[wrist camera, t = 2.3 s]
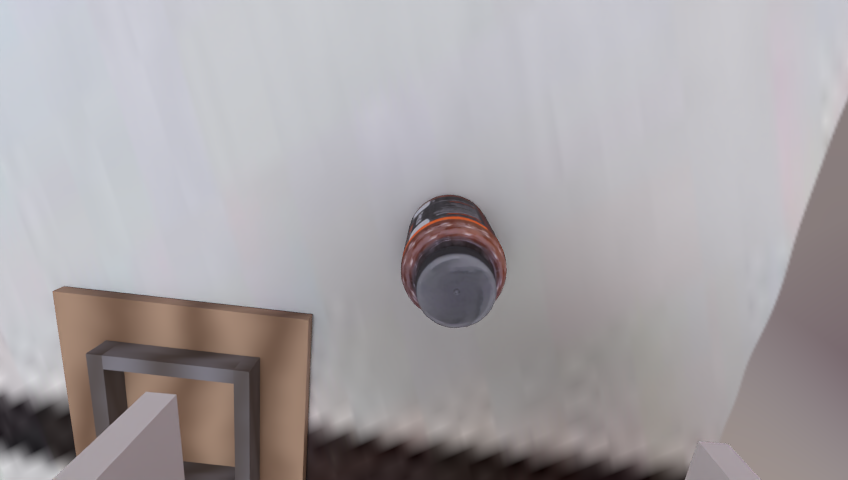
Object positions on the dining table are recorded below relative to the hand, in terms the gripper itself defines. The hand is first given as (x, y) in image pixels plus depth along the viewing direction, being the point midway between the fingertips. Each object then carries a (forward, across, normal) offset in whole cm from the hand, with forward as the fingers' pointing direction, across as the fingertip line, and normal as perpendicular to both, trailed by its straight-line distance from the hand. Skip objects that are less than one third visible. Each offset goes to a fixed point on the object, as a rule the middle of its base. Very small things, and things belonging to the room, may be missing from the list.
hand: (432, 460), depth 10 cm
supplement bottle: (+21, -1, 0) cm, 21 cm away
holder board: (+21, +19, +17) cm, 33 cm away
